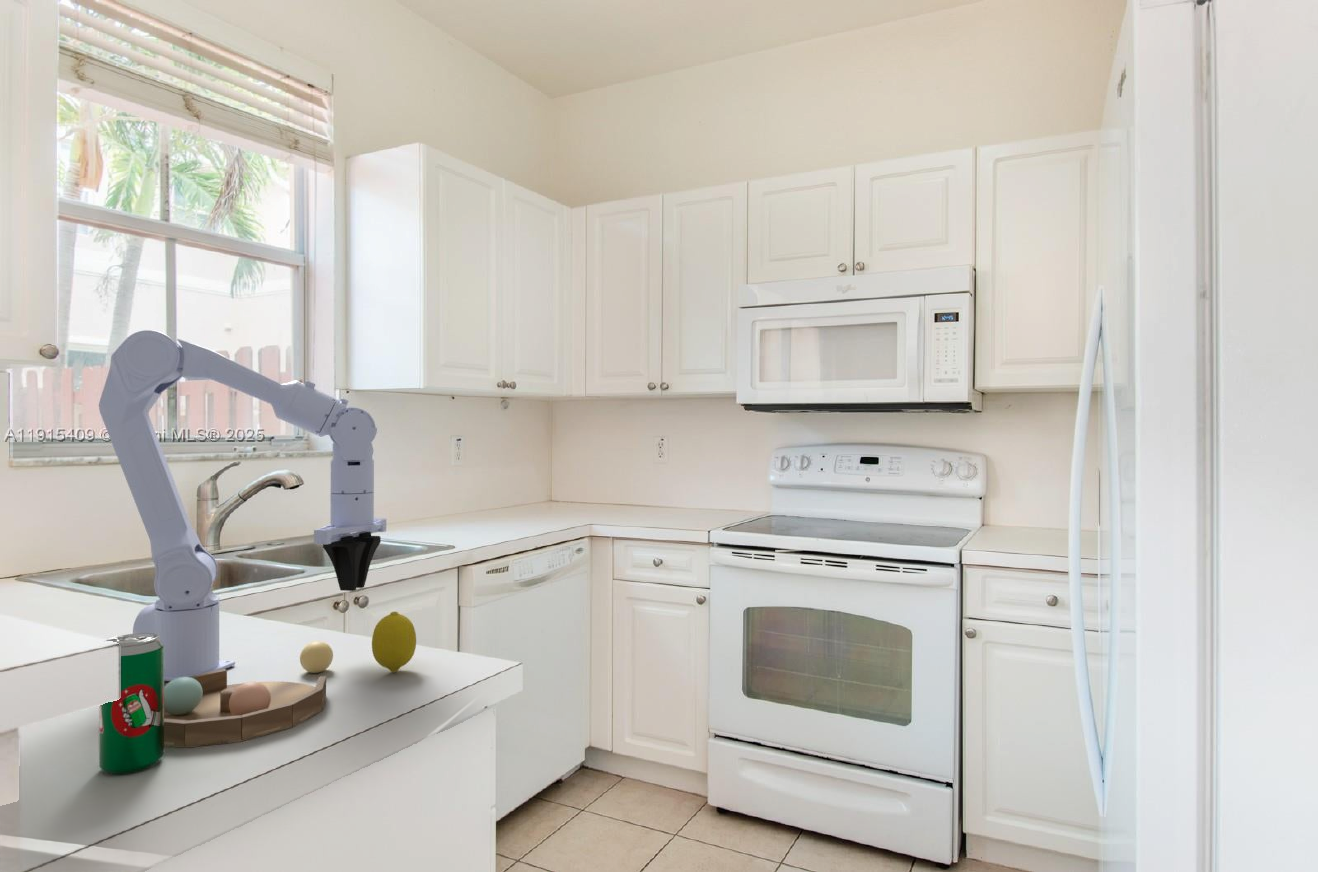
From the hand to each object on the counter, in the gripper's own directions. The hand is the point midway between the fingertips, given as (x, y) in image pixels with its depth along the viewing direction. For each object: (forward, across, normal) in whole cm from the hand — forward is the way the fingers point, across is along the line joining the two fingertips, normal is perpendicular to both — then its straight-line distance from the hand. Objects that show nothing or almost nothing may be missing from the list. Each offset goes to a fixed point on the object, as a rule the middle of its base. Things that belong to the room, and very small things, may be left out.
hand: (352, 588), depth 109 cm
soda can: (+10, -37, -1) cm, 38 cm away
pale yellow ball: (+9, -8, 0) cm, 12 cm away
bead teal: (+9, -26, +4) cm, 27 cm away
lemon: (+10, -6, -10) cm, 15 cm away
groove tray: (+9, -23, 0) cm, 25 cm away
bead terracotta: (+9, -26, -4) cm, 27 cm away
